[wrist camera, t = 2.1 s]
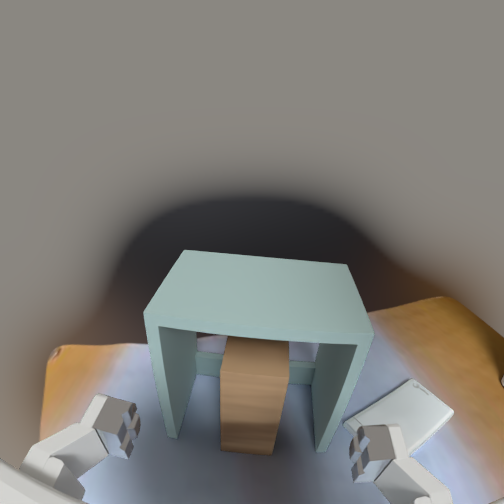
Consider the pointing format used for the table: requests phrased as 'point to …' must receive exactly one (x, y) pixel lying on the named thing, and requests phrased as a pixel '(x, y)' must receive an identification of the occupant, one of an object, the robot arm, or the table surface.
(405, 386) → the hard drive
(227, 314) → the tunnel
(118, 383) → the table surface
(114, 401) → the robot arm
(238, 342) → the walnut block
